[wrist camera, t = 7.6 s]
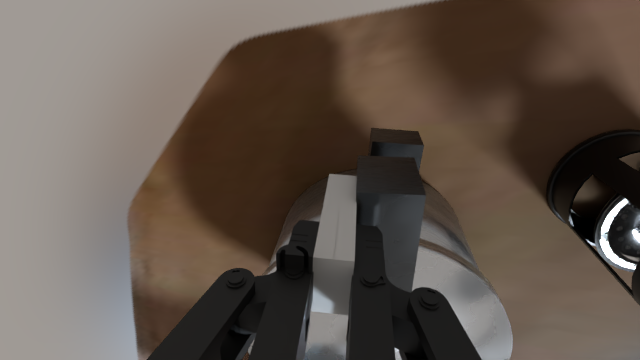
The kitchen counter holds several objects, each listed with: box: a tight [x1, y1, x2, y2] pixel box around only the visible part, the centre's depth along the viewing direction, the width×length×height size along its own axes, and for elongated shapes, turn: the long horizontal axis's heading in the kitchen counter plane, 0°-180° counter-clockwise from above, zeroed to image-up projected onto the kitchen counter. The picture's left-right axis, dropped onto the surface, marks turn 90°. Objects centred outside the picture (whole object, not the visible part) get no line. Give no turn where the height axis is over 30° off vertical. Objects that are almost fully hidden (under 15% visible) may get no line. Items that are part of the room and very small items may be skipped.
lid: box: [248, 156, 513, 360], centre depth 23 cm, size 24×19×5 cm
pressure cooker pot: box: [269, 128, 479, 270], centre depth 30 cm, size 28×18×10 cm, turn 178°
